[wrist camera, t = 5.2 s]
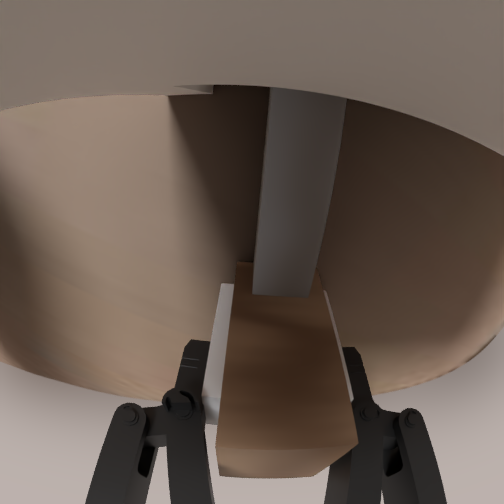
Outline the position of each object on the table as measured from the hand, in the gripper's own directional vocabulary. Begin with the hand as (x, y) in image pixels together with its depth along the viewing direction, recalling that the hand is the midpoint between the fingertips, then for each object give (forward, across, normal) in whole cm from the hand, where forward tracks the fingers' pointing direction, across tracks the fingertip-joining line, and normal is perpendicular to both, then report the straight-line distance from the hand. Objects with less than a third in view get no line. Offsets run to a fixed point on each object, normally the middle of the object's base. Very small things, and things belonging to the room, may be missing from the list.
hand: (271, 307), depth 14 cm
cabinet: (+1, +4, +16) cm, 16 cm away
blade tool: (0, 0, +5) cm, 5 cm away
